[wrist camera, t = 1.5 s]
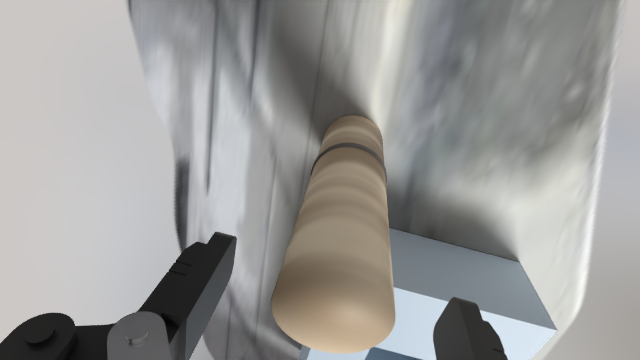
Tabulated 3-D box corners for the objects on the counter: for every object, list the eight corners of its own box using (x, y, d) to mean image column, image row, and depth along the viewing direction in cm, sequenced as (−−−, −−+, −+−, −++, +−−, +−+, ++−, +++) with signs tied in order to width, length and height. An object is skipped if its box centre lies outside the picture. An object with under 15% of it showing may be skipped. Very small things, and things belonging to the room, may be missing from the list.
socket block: (344, 216, 26) (337, 272, 21) (520, 262, 26) (557, 330, 21) (300, 350, 35) (287, 413, 30) (430, 385, 35) (440, 454, 30)
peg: (330, 106, 22) (279, 250, 10) (392, 122, 22) (418, 287, 10) (316, 161, 24) (260, 336, 12) (373, 176, 24) (374, 366, 12)
